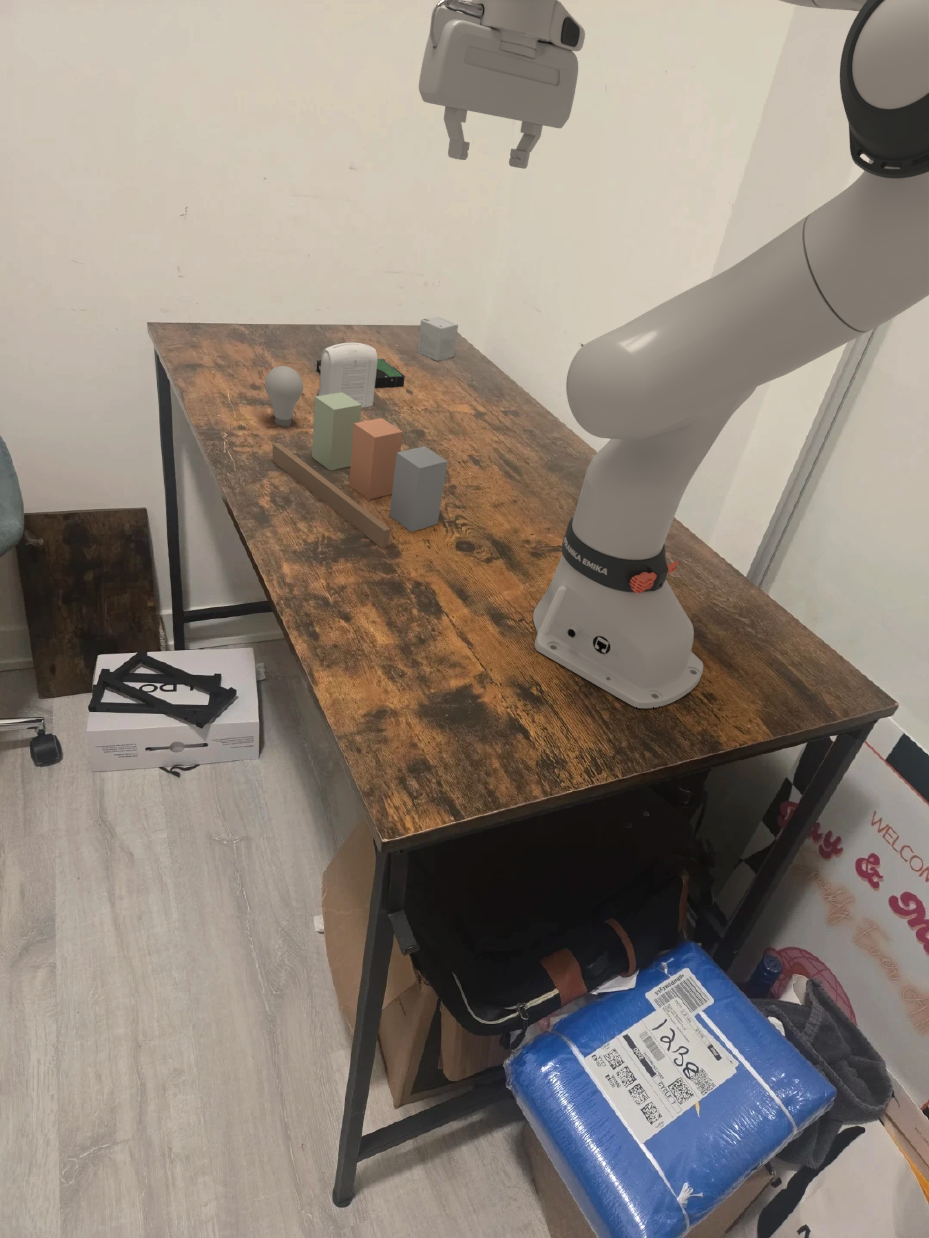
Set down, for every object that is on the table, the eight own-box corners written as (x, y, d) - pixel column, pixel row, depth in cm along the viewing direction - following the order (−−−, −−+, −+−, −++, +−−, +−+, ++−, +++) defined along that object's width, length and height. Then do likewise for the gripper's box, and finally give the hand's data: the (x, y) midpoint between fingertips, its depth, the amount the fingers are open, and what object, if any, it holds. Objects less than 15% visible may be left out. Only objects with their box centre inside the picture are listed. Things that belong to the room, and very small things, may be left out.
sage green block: (356, 464, 125) (361, 404, 119) (330, 470, 122) (334, 409, 116) (338, 451, 128) (342, 392, 122) (311, 457, 125) (315, 396, 119)
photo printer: (365, 403, 148) (371, 338, 141) (375, 413, 146) (382, 346, 138) (314, 408, 143) (318, 340, 136) (324, 418, 140) (329, 349, 133)
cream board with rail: (475, 526, 118) (480, 501, 116) (373, 559, 107) (376, 533, 104) (364, 448, 133) (366, 425, 131) (264, 470, 122) (265, 445, 119)
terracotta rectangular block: (395, 493, 120) (402, 431, 114) (368, 500, 117) (374, 437, 111) (375, 478, 122) (381, 418, 116) (348, 485, 119) (353, 423, 113)
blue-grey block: (437, 523, 114) (447, 461, 108) (410, 532, 111) (419, 468, 105) (415, 508, 117) (424, 446, 111) (389, 515, 114) (396, 452, 108)
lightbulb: (287, 420, 137) (289, 358, 131) (308, 434, 134) (311, 371, 127) (257, 426, 133) (257, 363, 127) (277, 441, 130) (279, 376, 124)
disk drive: (336, 394, 151) (404, 388, 159) (337, 380, 150) (406, 375, 157) (315, 373, 158) (381, 369, 165) (315, 359, 156) (383, 356, 163)
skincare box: (454, 357, 177) (459, 324, 173) (436, 362, 173) (441, 328, 169) (434, 348, 180) (438, 315, 175) (416, 352, 176) (420, 319, 171)
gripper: (456, -8, 75) (435, 158, 82) (595, 36, 88) (566, 176, 95) (416, -11, 79) (399, 148, 86) (555, 32, 91) (530, 167, 99)
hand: (488, 163), depth 91 cm, fingers open, 8 cm apart
